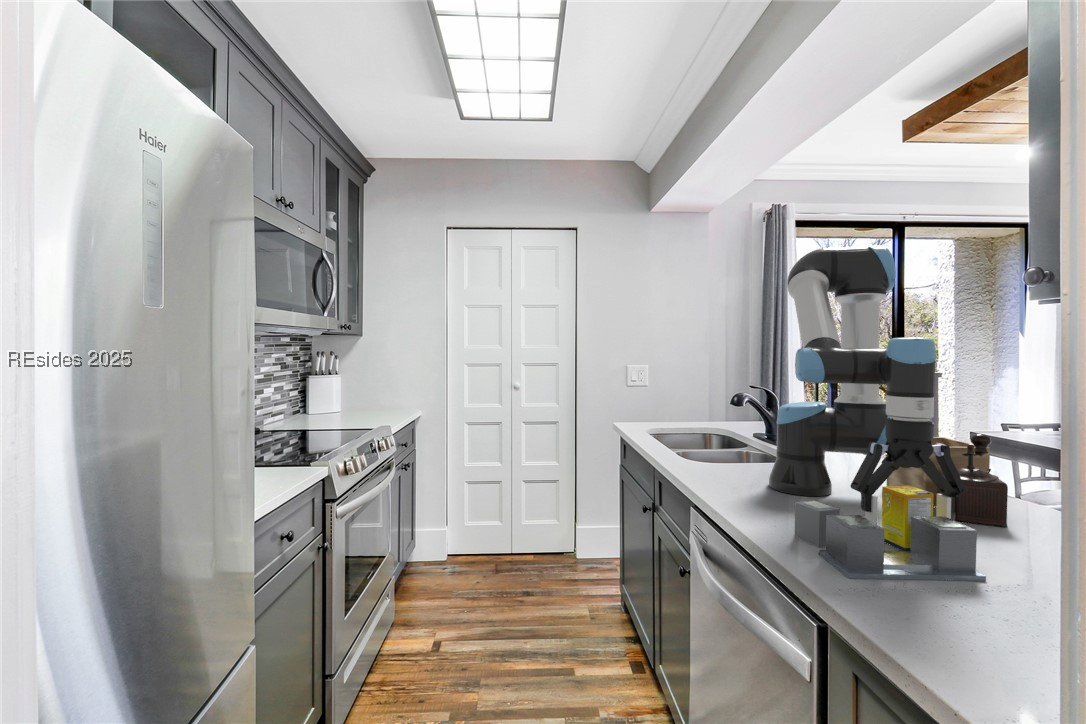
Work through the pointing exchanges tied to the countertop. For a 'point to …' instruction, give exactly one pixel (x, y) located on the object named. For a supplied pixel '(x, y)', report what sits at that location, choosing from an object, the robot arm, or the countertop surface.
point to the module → (812, 521)
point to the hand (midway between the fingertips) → (906, 529)
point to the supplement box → (903, 513)
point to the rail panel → (932, 555)
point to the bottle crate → (921, 479)
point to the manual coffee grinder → (980, 490)
